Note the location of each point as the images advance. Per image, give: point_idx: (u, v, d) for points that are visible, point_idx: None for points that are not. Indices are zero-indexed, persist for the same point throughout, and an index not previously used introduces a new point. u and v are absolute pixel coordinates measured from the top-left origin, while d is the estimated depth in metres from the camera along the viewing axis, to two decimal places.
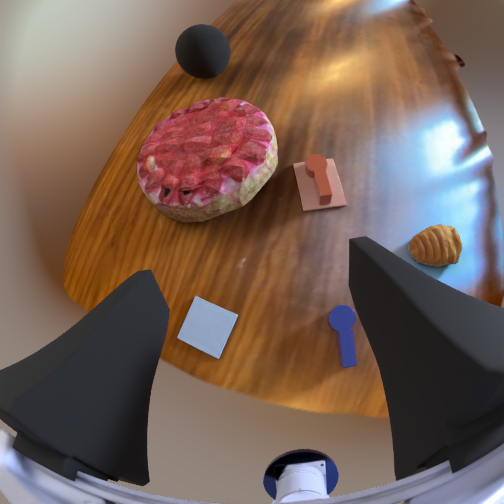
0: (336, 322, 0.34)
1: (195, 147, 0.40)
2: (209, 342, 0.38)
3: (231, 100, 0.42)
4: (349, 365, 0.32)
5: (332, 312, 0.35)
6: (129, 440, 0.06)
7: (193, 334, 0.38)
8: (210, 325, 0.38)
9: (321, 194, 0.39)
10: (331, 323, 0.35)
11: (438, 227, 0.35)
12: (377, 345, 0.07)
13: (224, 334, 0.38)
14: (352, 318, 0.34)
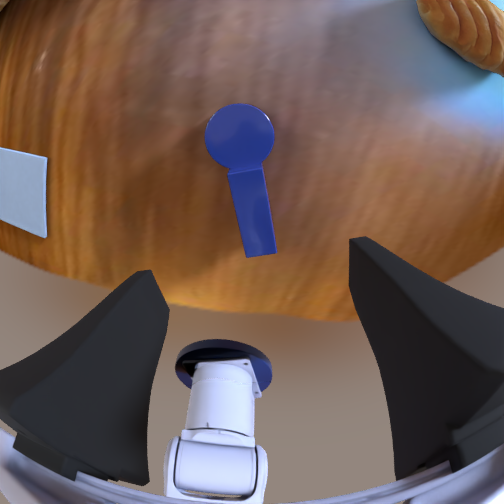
0: (223, 148, 0.13)
1: None
2: (27, 215, 0.17)
3: None
4: (259, 253, 0.16)
5: (211, 123, 0.13)
6: (129, 440, 0.06)
7: (9, 207, 0.16)
8: (19, 188, 0.16)
9: None
10: (211, 150, 0.14)
11: None
12: (377, 345, 0.07)
13: (38, 198, 0.16)
14: (266, 137, 0.13)
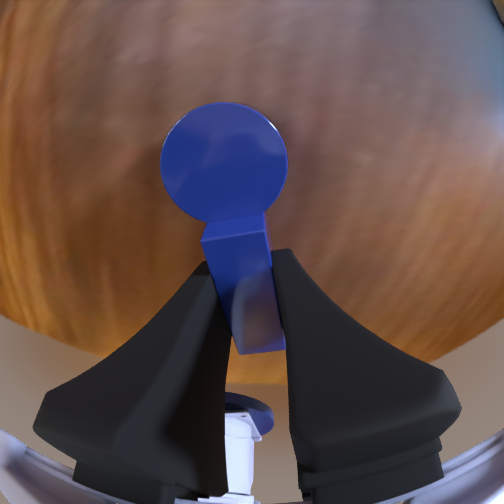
0: (194, 187, 0.08)
1: None
2: None
3: None
4: (259, 350, 0.10)
5: (170, 142, 0.07)
6: (214, 449, 0.06)
7: None
8: None
9: None
10: (172, 192, 0.08)
11: None
12: None
13: None
14: (273, 167, 0.07)
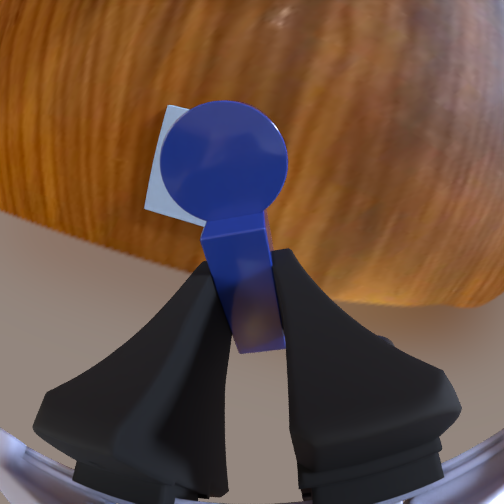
0: (193, 185, 0.07)
1: None
2: None
3: None
4: (259, 349, 0.10)
5: (169, 140, 0.07)
6: (214, 449, 0.06)
7: None
8: None
9: None
10: (172, 190, 0.08)
11: None
12: None
13: None
14: (273, 165, 0.07)
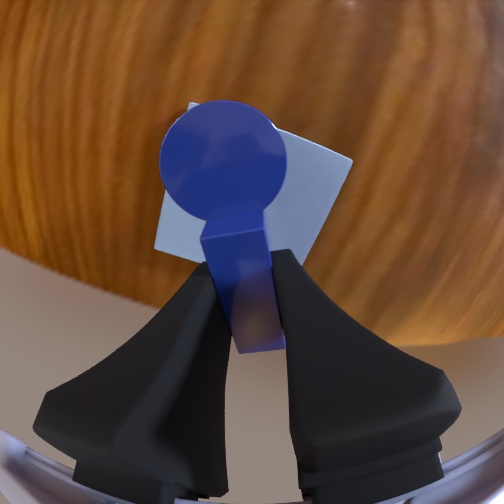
0: (193, 185, 0.07)
1: None
2: None
3: None
4: (259, 349, 0.10)
5: (169, 140, 0.07)
6: (214, 449, 0.06)
7: None
8: None
9: None
10: (171, 190, 0.08)
11: None
12: None
13: (311, 225, 0.12)
14: (272, 165, 0.07)
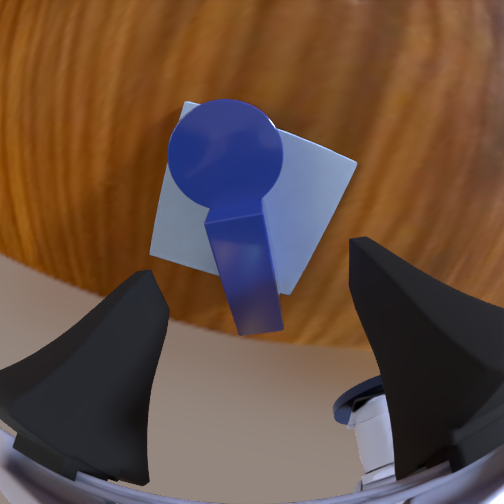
0: (198, 175, 0.08)
1: None
2: None
3: None
4: (258, 331, 0.10)
5: (176, 135, 0.08)
6: (129, 440, 0.06)
7: (202, 237, 0.12)
8: None
9: None
10: (178, 180, 0.08)
11: None
12: (377, 345, 0.07)
13: (312, 230, 0.11)
14: (270, 157, 0.08)
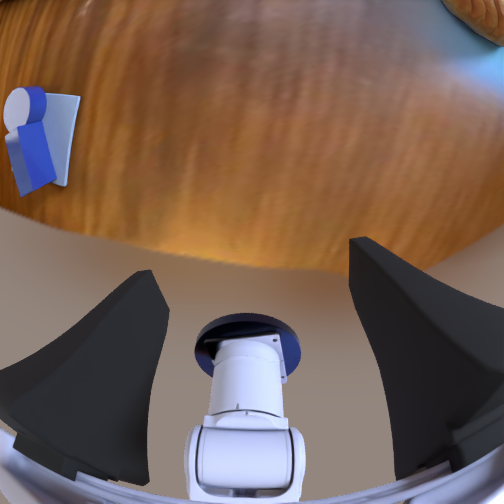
0: (10, 120, 0.12)
1: None
2: None
3: None
4: (25, 192, 0.14)
5: (5, 106, 0.11)
6: (129, 440, 0.06)
7: None
8: None
9: None
10: (6, 124, 0.12)
11: None
12: (377, 345, 0.07)
13: (64, 140, 0.15)
14: (26, 105, 0.12)
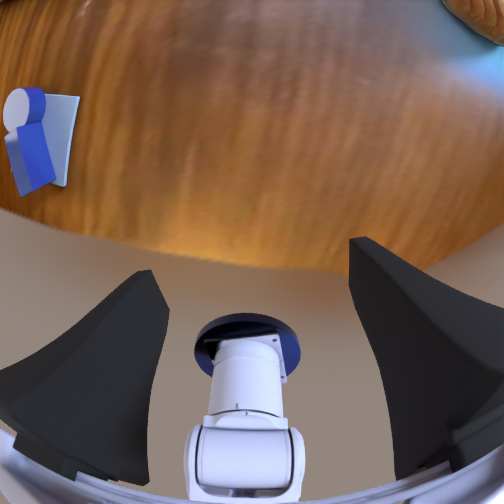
0: (9, 121, 0.12)
1: None
2: None
3: None
4: (25, 192, 0.14)
5: (5, 107, 0.11)
6: (129, 440, 0.06)
7: None
8: None
9: None
10: (5, 124, 0.12)
11: None
12: (377, 345, 0.07)
13: (63, 140, 0.15)
14: (26, 106, 0.12)
